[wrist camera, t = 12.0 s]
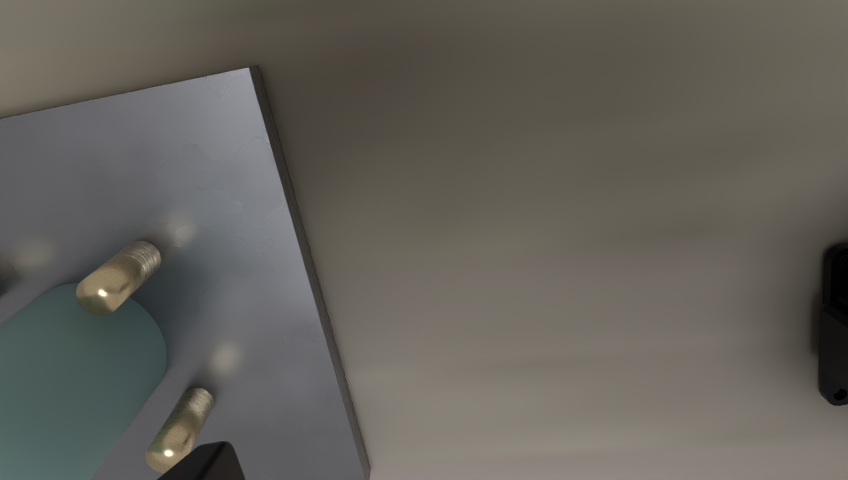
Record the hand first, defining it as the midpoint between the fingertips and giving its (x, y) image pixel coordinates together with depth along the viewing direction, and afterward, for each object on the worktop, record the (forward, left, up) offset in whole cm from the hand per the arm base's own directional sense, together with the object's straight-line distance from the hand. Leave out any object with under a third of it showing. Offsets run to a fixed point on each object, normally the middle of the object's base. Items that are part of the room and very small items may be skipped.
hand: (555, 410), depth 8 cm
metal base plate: (+14, +3, -13) cm, 19 cm away
